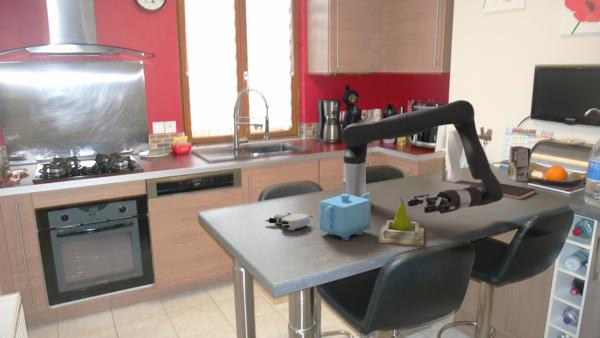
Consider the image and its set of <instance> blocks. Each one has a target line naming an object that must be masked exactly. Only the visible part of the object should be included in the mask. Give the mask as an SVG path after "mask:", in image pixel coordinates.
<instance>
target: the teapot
mask: <svg viewBox="0 0 600 338" xmlns="http://www.w3.org/2000/svg"><path fill="white" fill-rule="evenodd" d="M370 194H371V192H369V191H368V192H365V193H364V194H363V195H362V197H357V196H352V195H348V194H343V193H341V194H340V195H337V196H333V197H330V198H326V199H323V200H319V230H320V231H323V232H326V234H327V235H328V234H329V235H328V236H334V235H335V236H337V237H340V238H341V240H342V241H349V240H351V238H350V236H353V235H357V236H362V235H364V231H366V230H369V229H371V199H369V198H367V197H368V196H369V195H370Z"/></svg>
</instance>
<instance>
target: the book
mask: <svg viewBox="0 0 600 338" xmlns="http://www.w3.org/2000/svg"><path fill="white" fill-rule="evenodd" d="M500 184H501V185H502V188H503V192H504V194H503V198H511V199H515V200H521V199H524V198H526V197H528V196H530V195H532V194H534V193H536V189H535V188H530V187H524V186H519V185H512V184H508V183H507V184H506V183H500ZM483 185H484V183H483V182H482V181H480V182H477V183H475V184H473V185H470V186H469V185H468V187H474V188H476V187H480V186H483Z"/></svg>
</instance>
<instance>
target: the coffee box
mask: <svg viewBox="0 0 600 338" xmlns="http://www.w3.org/2000/svg"><path fill="white" fill-rule="evenodd" d="M531 151H532V149H531V148H529V147H526V146H522V145H519V146H518V145H517V146H509V153H508V154H509V156H508V168H507V169H508V170H507V178H508V179H510V180H512V181H514V182H528V181H529V174H530V173H529V172H530V161H531V160H530V159H531Z"/></svg>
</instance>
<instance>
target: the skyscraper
mask: <svg viewBox="0 0 600 338" xmlns="http://www.w3.org/2000/svg"><path fill="white" fill-rule="evenodd" d="M463 151H464V148H463V144H462V141H461V139H460V136H459V134H458V132H457V130H456V128H455V127H454V125H453V126H451V127H450V128H449V132H448V140H447V154H448V161H449V162H448V167H447V164H446V159H443V165H442V175H441V176H442V178H441V182H445V183H452V184H455V183H459V182H461V181H462V169H461V168H462V167H461V158H462V155H463ZM446 171H447V172H446Z"/></svg>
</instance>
